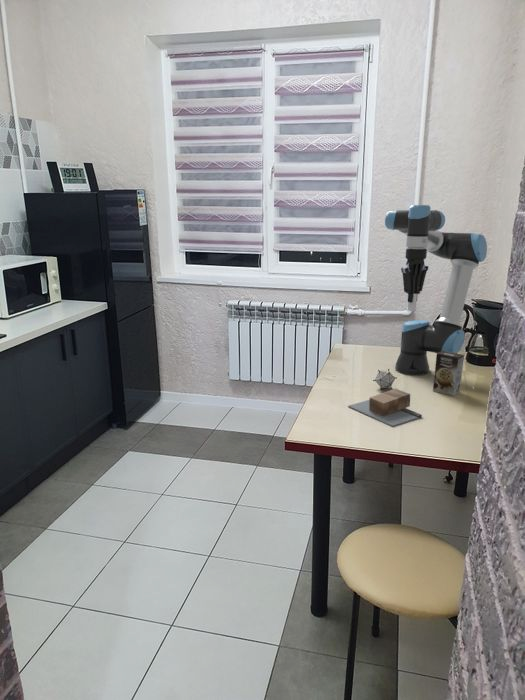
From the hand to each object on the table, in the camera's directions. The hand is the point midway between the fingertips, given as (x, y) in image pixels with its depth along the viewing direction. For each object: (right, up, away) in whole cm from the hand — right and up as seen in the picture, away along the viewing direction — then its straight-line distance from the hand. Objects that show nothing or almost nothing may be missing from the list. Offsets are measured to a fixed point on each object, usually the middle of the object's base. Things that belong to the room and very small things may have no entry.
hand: (411, 310), depth 197 cm
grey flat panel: (-13, -38, -8) cm, 41 cm away
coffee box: (+18, -32, +13) cm, 39 cm away
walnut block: (-4, -33, -4) cm, 34 cm away
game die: (-6, -31, +17) cm, 36 cm away
